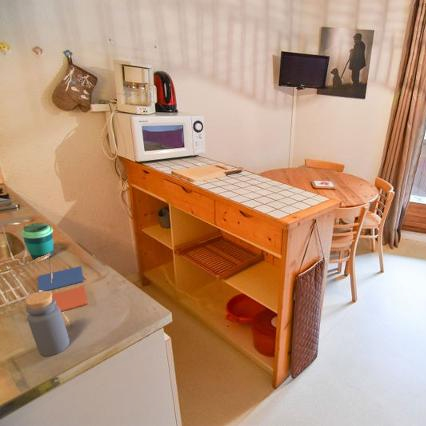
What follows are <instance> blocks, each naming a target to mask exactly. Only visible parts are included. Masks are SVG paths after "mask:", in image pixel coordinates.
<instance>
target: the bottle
mask: <svg viewBox="0 0 426 426" xmlns="http://www.w3.org/2000/svg"><path fill="white" fill-rule="evenodd" d="M52 294H53V293H52V292H51V291H50V290H49V291H42V292H38V291H37V292H35V293H33V294H30V295H29V296H27V297H26V298H25V300H24V303H25V304H26V307H25V311H26V312H27V314H28V315H27V318H26V319H27V322H28V325H29V329H30V331H31V334H32V337H33V339H34V342H35V345H36V349H37V351H38V354H39V355H40V356H42V357H52V356H56V355H58V354H61V353H62V352H63V351H65V350H66V349H67V348H68V347H69V346H70V338H69V334H68V330H67V327H66V324H65V322H64V317H63V314H62V312H61V311H60V308H59V307H58V306H56V305H55V304H56V301H55V299H54V298H52Z"/></svg>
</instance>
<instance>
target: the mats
mask: <svg viewBox="0 0 426 426" xmlns="http://www.w3.org/2000/svg"><path fill="white" fill-rule="evenodd" d="M51 273H53V279H52V283H51ZM80 283H84V278H83V270H82V266H81V265H80V266H75V267H70V268H66V269H63V270H57V271H54V272H50V273H49V272H48V273H45V274H39V275H38V277H37V291H38V290H43V291H49V292H50V291H54V290H56V289H61V288H65V287H69V286H73V285H76V284H80ZM52 298H54V299H55V301H56V304H55V305H56V306H58V307H59V308H60V311H61V313H63V312H66V311H69V310H73V309H77V308H79V307H83V306H87V305H88V302H87V296H86V289H85V286H84V285H82V286H81V285H80V286H77V287H74V288H70V289H66V290H62V291H58V292H54V293H52Z"/></svg>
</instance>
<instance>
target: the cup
mask: <svg viewBox="0 0 426 426" xmlns="http://www.w3.org/2000/svg"><path fill="white" fill-rule="evenodd" d="M53 232H54V229H53V226H50V225H49V224H48V223H47V222H35V223H31V224H28V225H26V226H24V227H23V229H22V230H21V231H20V236H21V237H22V238H23V242H24V244H25V246H26V249H27V251H28V253H29V255H30V257H31V259H32V260H33V261H35V260H34V259H36V258H38V257H41V256H44V255H46V254H48V253H51V257H50V258H52V257H53V256H54V236H53Z"/></svg>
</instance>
